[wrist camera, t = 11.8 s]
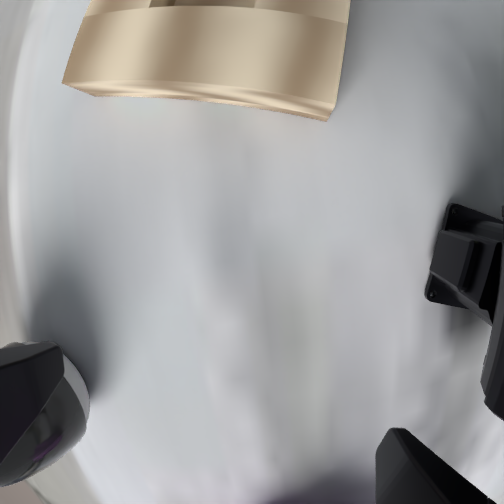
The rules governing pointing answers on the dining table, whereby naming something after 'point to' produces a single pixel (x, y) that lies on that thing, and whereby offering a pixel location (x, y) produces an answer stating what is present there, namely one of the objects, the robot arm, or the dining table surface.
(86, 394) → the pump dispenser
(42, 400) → the robot arm
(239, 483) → the dining table surface
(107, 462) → the dining table surface
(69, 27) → the dining table surface
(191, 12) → the housing
